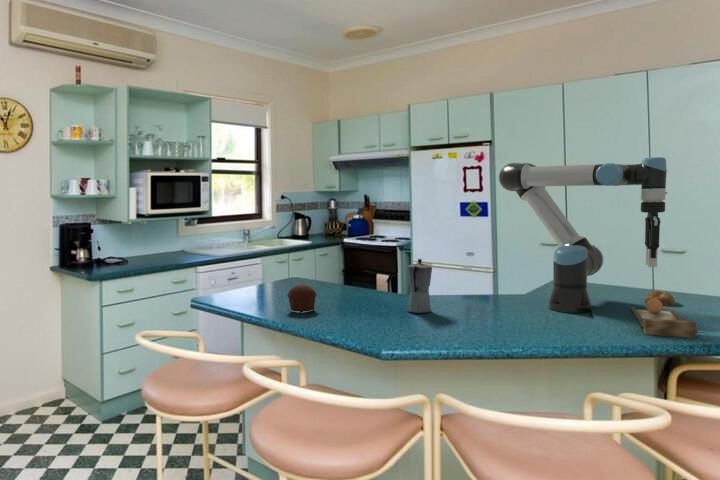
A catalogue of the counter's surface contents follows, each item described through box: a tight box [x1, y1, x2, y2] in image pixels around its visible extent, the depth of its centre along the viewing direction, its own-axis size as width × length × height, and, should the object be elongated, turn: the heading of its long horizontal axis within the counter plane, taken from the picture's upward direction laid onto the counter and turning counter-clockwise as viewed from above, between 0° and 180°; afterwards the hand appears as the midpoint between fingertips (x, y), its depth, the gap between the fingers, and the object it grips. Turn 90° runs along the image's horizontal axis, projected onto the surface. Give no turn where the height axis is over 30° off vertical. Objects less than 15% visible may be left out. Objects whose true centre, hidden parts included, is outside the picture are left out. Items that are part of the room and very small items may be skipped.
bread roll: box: [644, 289, 676, 307], centre depth 188 cm, size 10×10×8 cm
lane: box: [630, 306, 697, 339], centre depth 163 cm, size 13×29×4 cm, turn 159°
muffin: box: [286, 284, 318, 312], centre depth 193 cm, size 12×11×10 cm
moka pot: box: [406, 258, 433, 314], centre depth 187 cm, size 10×15×20 cm, turn 164°
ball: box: [645, 299, 664, 313], centre depth 173 cm, size 5×5×5 cm
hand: (651, 265), depth 179 cm, fingers open, 4 cm apart
